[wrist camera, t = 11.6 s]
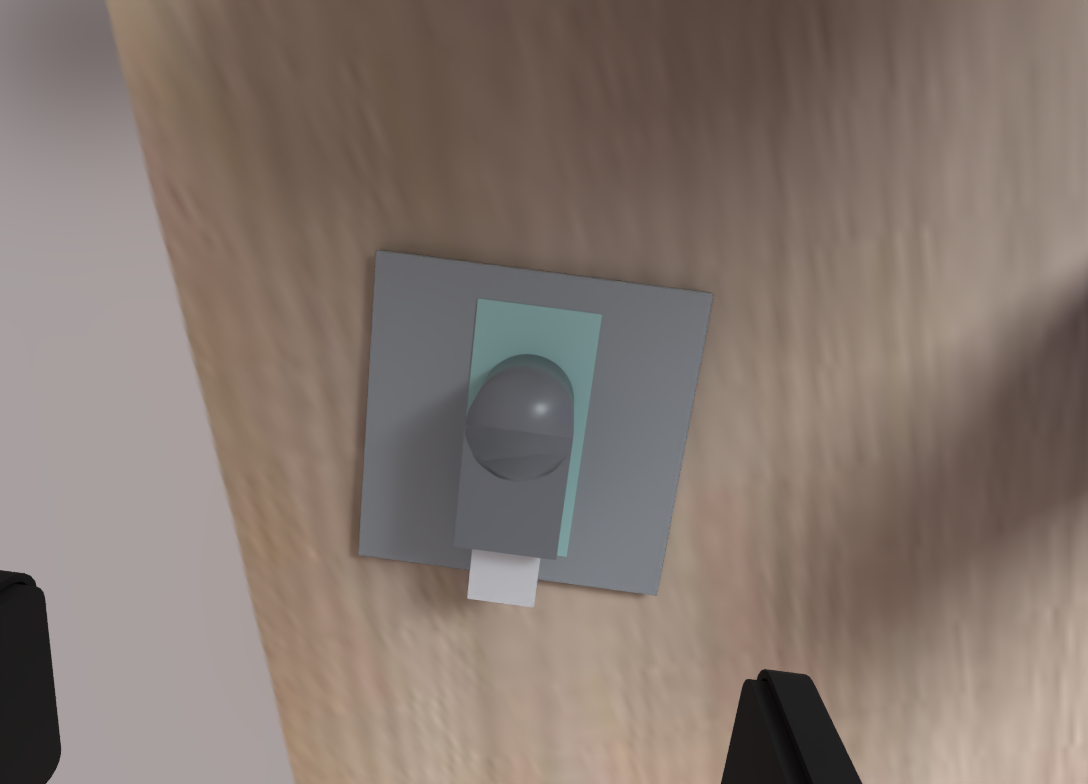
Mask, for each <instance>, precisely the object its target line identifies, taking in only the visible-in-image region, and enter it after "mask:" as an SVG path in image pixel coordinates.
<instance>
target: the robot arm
mask: <svg viewBox="0 0 1088 784" xmlns="http://www.w3.org/2000/svg"><path fill="white" fill-rule="evenodd" d="M49 641H50V640H49V632H48V622H47V613H46V603H45V596H44V593H43V591H42V590H41V589H40V588H38V587H37V586H36V583H35V580H34V579H33V578H32V577H31V576H30V575H27V574H25V573H18V572H10V571H2V570H0V784H46V783H47V782H48V780H49V779H50V778H51V777H52V775H53V773H54V771H55V770H56V768H57V765H58V763H59V760H60V755H61V743H60V735H59V724H58V715H57V707H56V696H55V688H54V678H53V668H52V659H51V650H50V642H49ZM721 784H862V782H861V780H860V778H859V776H858V774H857V772H856V770H855V768H854V766H853V764H852V761H851V759H850V757H849V755H848V753H847V751H846V749H845V747H844V745H843V743H842V741H841V739H840V737H839V735H838V732H837V730H836V728H835V726H834V724H833V722H832V720H831V718H830V716H829V714H828V712H827V710H826V708H825V706H824V703H823V701H822V699H821V697H820V695H819V693H818V691H817V689H816V687H815V685H814V683H813V681H812V680H811V678H810V677H809V676H807V675H805V674H798V673H790V672H782V671H775V670H767V669H764V670H761V672H760V673H759V675H758V678H757V680H752V679H747V680H745V682H744V684H743V687H742V691H741V695H740V700H739V704H738V709H737V714H736V718H735V723H734V727H733V732H732V736H731V741H730V745H729V750H728V754H727V759H726V763H725V768H724V772H723V777H722V781H721Z"/></svg>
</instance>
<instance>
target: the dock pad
mask: <svg viewBox="0 0 1088 784" xmlns="http://www.w3.org/2000/svg"><path fill="white" fill-rule="evenodd" d="M713 295H714V294H712V293H710V292H703V291H695V290H687V289H679V288H672V287H664V286H656V285H648V284H641V283H633V282H625V281H618V280H610V279H602V278H594V277H587V276H579V275H571V274H563V273H556V272H548V271H540V270H533V269H525V268H517V267H509V266H502V265H494V264H486V263H478V262H471V261H463V260H455V259H448V258H440V257H432V256H424V255H417V254H409V253H401V252H394V251H386V250H378V251H376V262H375V279H374V296H373V313H372V330H371V347H370V364H369V382H368V399H367V416H366V433H365V450H364V467H363V484H362V502H361V519H360V536H359V553H358V555H361V556H369V557H376V558H383V559H391V560H398V561H405V562H413V563H420V564H427V565H435V566H442V567H449V568H457V569H464V570H470V566H471V556H472V549H468V548H460V547H454V536H455V526H456V515H457V505H458V494H459V484H460V473H461V463H462V453H463V442H464V432H465V422H466V417H467V414H468V411H469V408H470V406H471V404H472V403H473V401H474V399H475V397H476V395H477V394H478V392H479V390H480V388H481V387H482V385H483V383H484V381H485V380H486V378H487V376H488V375H489V373H490V372H491V371H492V369H493V368H494V367H495V366H496V365H498V364H499V363H500V362H502V361H503V360H505V359H507V358H509V357H512V356H516V355H521V354H533V355H538V356H542V357H545V358H547V359H549V360H551V361H552V362H554V363H555V364H557V365H558V366H559V367H560V368H561V369H562V370H563V371H564V372H565V374H566V375H567V377H568V378H569V380H570V382H571V385H572V388H573V393H574V435H573V444H572V451H571V458H570V465H569V472H568V479H567V486H566V494H565V501H564V508H563V515H562V522H561V529H560V536H559V544H558V551H557V558H556V560H550V559H542V558H540V564H539V572H538V580H545V581H552V582H560V583H567V584H574V585H582V586H589V587H596V588H604V589H611V590H618V591H626V592H633V593H640V594H648V595H655V596H657V592H658V587H659V582H660V577H661V571H662V566H663V561H664V555H665V550H666V545H667V539H668V534H669V529H670V523H671V518H672V513H673V507H674V502H675V497H676V491H677V486H678V481H679V476H680V470H681V465H682V460H683V454H684V449H685V444H686V438H687V433H688V428H689V422H690V417H691V412H692V406H693V401H694V396H695V390H696V385H697V380H698V375H699V369H700V364H701V359H702V353H703V348H704V343H705V337H706V332H707V327H708V321H709V316H710V311H711V305H712V300H713Z"/></svg>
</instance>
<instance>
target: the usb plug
mask: <svg viewBox="0 0 1088 784" xmlns="http://www.w3.org/2000/svg"><path fill="white" fill-rule="evenodd" d="M573 435H574V393H573V388H572V385H571V382H570V380H569V378H568V377H567V375H566V374H565V372H564V371H563V370H562V369H561V368H560V367H559V366H558V365H557V364H555V363H554V362H552V361H551V360H549V359H547V358H545V357H542V356H538V355H533V354H521V355H516V356H512V357H509V358H507V359H505V360H503V361H502V362H500V363H499V364H498V365H496V366H495V367H494V368H493V369H492V371H491V372H490V373H489V375H488V376H487V378H486V380H485V381H484V383H483V385H482V387H481V388H480V390H479V392H478V394H477V395H476V397H475V399H474V401H473V403H472V404H471V406H470V408H469V411H468V414H467V417H466V422H465V432H464V442H463V453H462V463H461V473H460V484H459V494H458V505H457V515H456V526H455V536H454V547H460V548H468V549H472V556H471V566H470V576H469V585H468V595H467V599H474V600H481V601H489V602H496V603H503V604H511V605H518V606H526V607H533V608H534V602H535V594H536V587H537V579H538V572H539V564H540V558H542V559H550V560H556V558H557V551H558V544H559V536H560V529H561V522H562V515H563V508H564V501H565V494H566V486H567V479H568V472H569V465H570V458H571V451H572V444H573Z"/></svg>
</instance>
